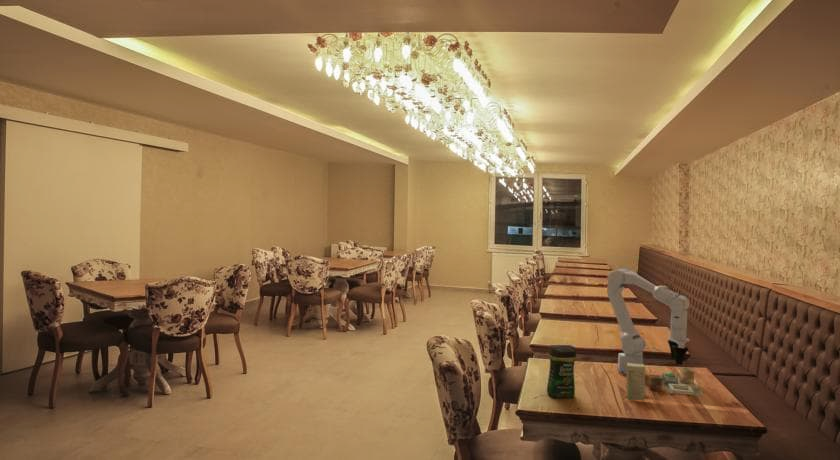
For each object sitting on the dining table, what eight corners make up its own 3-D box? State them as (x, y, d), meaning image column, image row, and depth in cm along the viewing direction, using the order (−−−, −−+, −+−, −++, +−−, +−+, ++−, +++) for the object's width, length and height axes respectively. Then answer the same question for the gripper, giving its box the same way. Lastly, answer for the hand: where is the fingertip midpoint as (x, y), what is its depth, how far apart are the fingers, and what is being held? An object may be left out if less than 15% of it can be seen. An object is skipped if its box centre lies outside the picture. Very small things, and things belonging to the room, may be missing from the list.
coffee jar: (552, 399, 195) (553, 348, 194) (544, 392, 203) (545, 342, 202) (578, 398, 197) (579, 347, 196) (569, 391, 204) (570, 342, 204)
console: (663, 384, 210) (664, 376, 210) (661, 380, 215) (662, 373, 215) (677, 386, 209) (678, 378, 209) (675, 381, 214) (675, 374, 214)
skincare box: (644, 397, 200) (645, 364, 199) (644, 401, 196) (646, 367, 195) (625, 394, 202) (626, 362, 201) (625, 398, 198) (626, 365, 197)
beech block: (682, 386, 209) (682, 370, 208) (680, 383, 213) (680, 367, 212) (693, 387, 208) (694, 371, 207) (691, 384, 212) (692, 368, 211)
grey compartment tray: (667, 395, 201) (668, 389, 201) (661, 383, 216) (661, 377, 216) (703, 399, 198) (704, 393, 198) (694, 386, 213) (695, 380, 213)
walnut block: (649, 393, 204) (650, 377, 204) (648, 389, 208) (649, 374, 208) (661, 394, 203) (662, 378, 203) (659, 391, 207) (660, 375, 206)
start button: (666, 380, 211) (667, 373, 211) (665, 378, 214) (665, 371, 214) (674, 381, 211) (674, 374, 210) (672, 379, 213) (673, 372, 213)
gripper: (694, 332, 204) (692, 368, 205) (685, 324, 218) (684, 357, 219) (673, 330, 206) (671, 366, 207) (666, 322, 220) (665, 356, 221)
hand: (676, 361), depth 213 cm, fingers open, 7 cm apart
